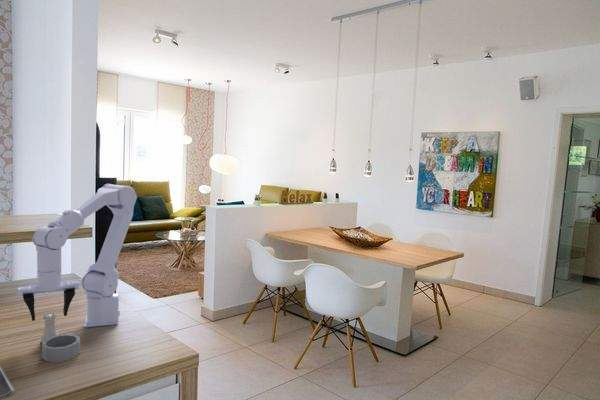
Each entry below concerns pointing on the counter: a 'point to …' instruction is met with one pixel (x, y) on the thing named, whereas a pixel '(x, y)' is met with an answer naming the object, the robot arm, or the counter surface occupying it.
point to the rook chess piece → (49, 326)
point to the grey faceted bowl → (61, 347)
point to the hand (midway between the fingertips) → (49, 317)
